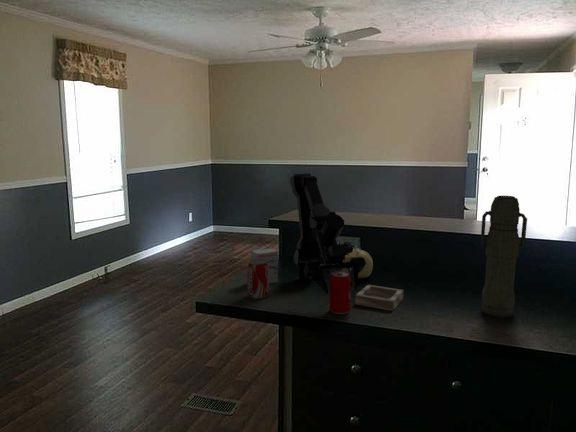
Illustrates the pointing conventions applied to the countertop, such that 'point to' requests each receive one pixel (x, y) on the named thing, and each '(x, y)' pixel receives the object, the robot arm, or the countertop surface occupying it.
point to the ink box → (268, 261)
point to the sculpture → (368, 259)
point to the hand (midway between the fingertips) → (341, 291)
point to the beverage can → (340, 292)
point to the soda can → (257, 278)
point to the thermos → (501, 255)
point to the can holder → (379, 297)
